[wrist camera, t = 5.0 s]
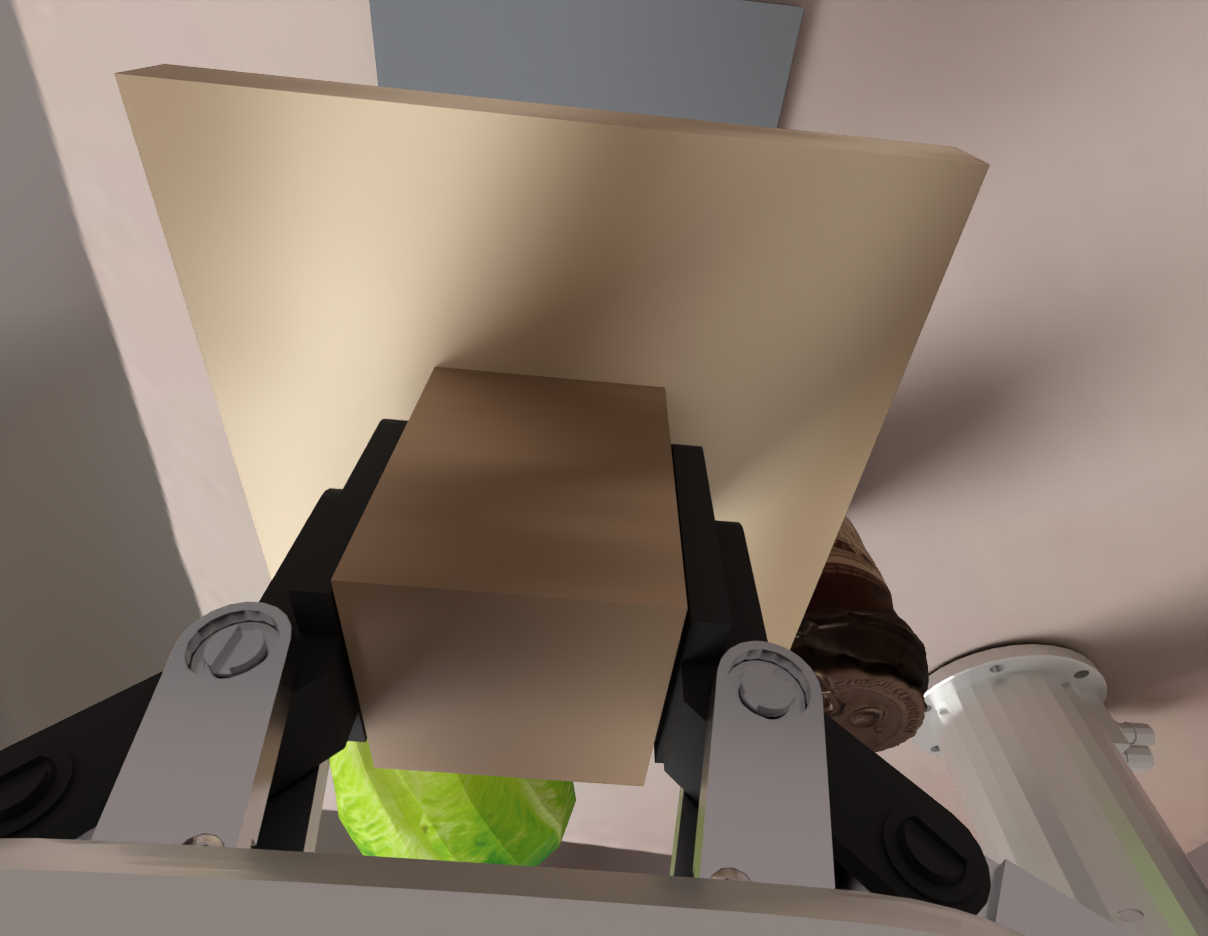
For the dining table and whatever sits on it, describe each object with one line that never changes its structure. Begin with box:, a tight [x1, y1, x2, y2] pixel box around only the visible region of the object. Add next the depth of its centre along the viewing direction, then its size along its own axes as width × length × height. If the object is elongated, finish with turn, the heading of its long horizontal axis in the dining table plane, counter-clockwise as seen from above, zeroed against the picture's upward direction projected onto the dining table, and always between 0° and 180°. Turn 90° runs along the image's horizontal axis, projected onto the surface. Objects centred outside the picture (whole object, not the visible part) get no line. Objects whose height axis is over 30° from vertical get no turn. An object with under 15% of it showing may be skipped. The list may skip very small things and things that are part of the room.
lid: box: [114, 64, 990, 786], centre depth 11 cm, size 12×12×6 cm
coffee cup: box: [790, 516, 929, 752], centre depth 29 cm, size 9×8×13 cm
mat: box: [369, 0, 804, 128], centre depth 25 cm, size 14×14×1 cm
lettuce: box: [330, 738, 576, 867], centre depth 39 cm, size 14×20×12 cm
